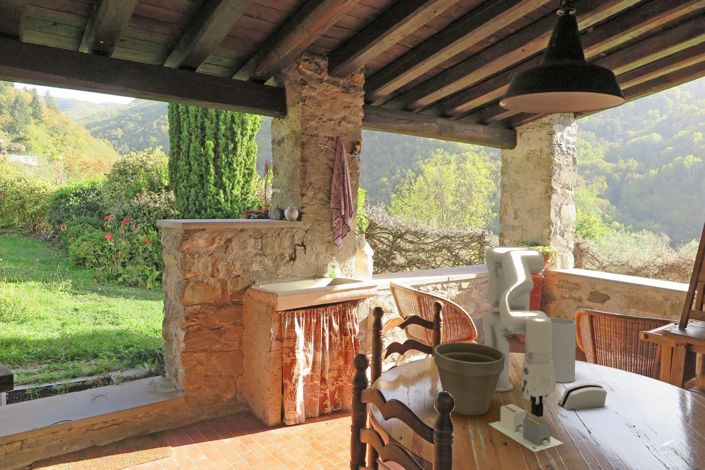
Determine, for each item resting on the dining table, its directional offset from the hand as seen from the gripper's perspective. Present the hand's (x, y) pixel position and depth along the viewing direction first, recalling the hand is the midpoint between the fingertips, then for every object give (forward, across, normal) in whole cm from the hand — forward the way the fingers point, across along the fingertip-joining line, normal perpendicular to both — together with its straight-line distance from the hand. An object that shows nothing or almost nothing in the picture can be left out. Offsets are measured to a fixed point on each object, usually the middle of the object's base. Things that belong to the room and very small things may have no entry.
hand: (537, 415), depth 144 cm
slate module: (+8, 0, 0) cm, 8 cm away
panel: (+9, 0, +5) cm, 11 cm away
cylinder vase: (+9, +53, +38) cm, 66 cm away
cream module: (+8, 0, +10) cm, 13 cm away
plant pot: (+9, -3, +29) cm, 31 cm away
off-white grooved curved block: (+9, +38, +14) cm, 41 cm away
